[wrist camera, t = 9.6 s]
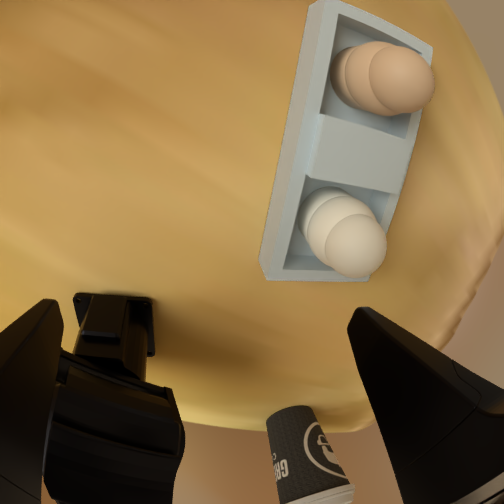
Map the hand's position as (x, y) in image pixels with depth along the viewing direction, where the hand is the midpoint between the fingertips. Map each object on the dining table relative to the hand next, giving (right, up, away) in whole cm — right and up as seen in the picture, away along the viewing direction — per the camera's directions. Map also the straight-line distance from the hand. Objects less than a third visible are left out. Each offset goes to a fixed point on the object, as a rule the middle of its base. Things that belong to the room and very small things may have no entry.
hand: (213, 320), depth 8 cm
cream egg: (+6, +4, +12) cm, 14 cm away
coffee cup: (+6, -21, +28) cm, 35 cm away
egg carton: (+7, +9, +11) cm, 16 cm away
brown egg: (+8, +13, +8) cm, 17 cm away
